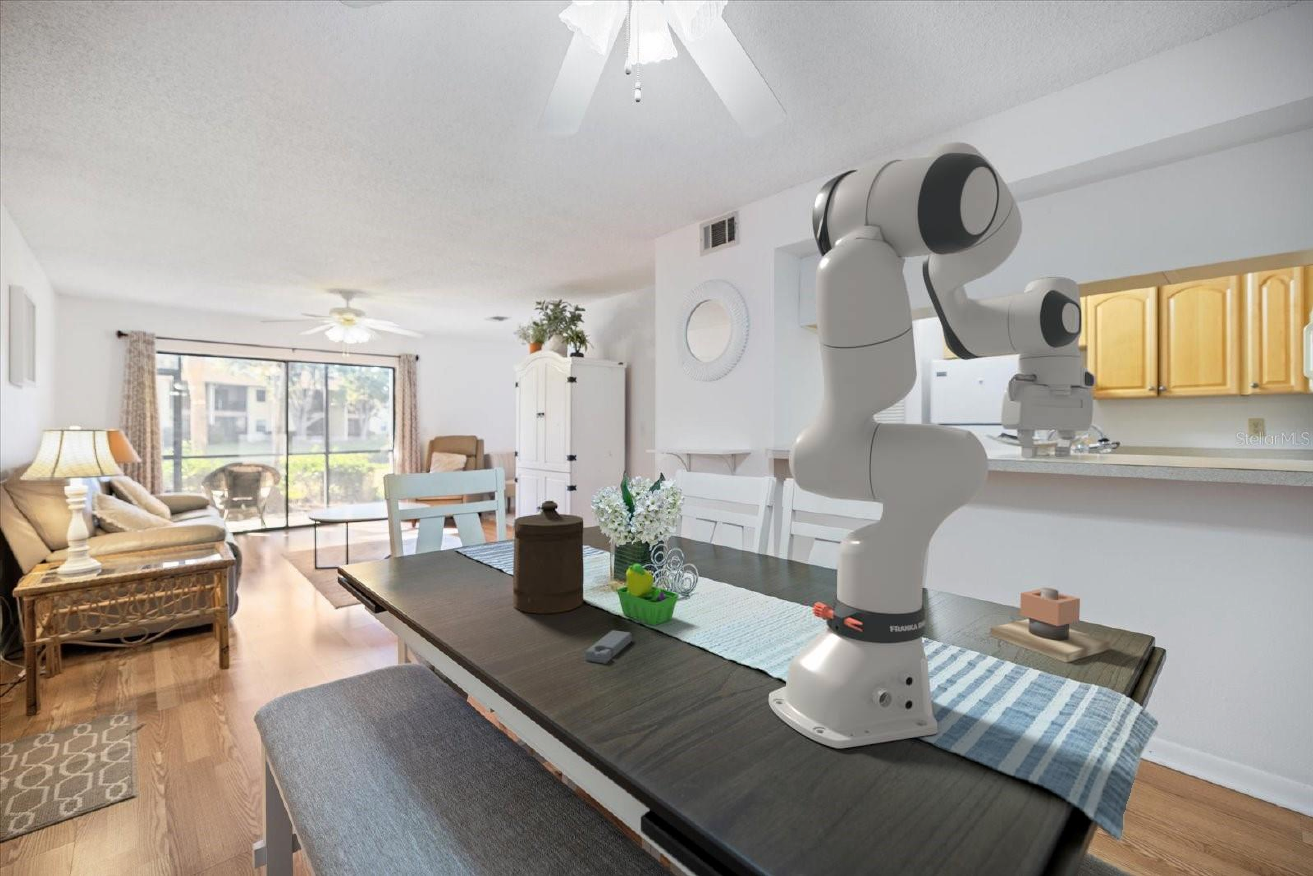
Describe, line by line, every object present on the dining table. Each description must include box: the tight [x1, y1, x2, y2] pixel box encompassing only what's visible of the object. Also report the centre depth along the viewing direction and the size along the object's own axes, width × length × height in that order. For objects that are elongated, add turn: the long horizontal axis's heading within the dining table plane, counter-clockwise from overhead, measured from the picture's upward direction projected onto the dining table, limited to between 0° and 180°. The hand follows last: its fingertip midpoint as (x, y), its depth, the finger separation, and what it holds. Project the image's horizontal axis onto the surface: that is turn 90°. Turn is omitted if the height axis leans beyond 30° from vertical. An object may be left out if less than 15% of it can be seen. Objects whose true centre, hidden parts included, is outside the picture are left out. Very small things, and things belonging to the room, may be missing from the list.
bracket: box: [584, 629, 632, 664], centre depth 97 cm, size 4×10×2 cm, turn 159°
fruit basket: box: [616, 563, 680, 626], centre depth 114 cm, size 11×9×11 cm
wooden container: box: [512, 500, 585, 615], centre depth 122 cm, size 15×15×22 cm
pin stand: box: [989, 587, 1111, 663], centre depth 102 cm, size 13×13×10 cm
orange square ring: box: [1019, 588, 1081, 626], centre depth 102 cm, size 6×6×4 cm
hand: (1046, 457), depth 97 cm, fingers open, 8 cm apart
